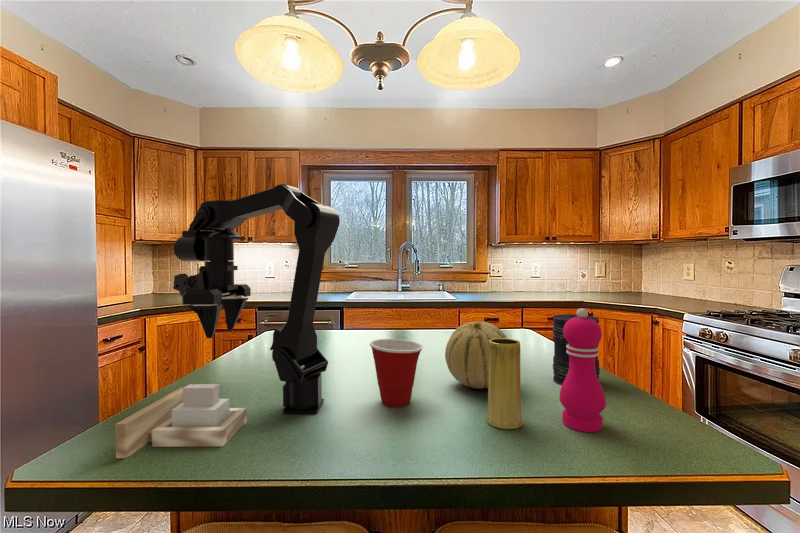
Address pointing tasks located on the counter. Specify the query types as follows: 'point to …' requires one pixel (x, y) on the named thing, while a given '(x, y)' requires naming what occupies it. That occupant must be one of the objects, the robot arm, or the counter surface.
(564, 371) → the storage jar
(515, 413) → the vase
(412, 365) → the plastic cup
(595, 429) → the pepper mill
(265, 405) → the counter surface
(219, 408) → the grey stepped block
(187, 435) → the stand
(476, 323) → the cantaloupe
